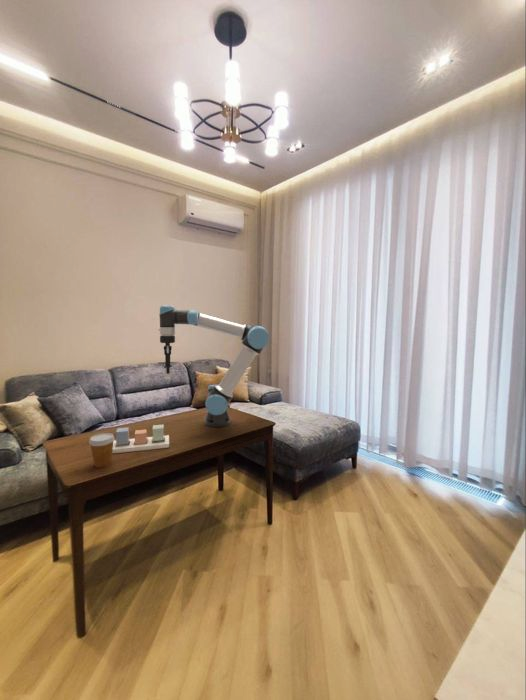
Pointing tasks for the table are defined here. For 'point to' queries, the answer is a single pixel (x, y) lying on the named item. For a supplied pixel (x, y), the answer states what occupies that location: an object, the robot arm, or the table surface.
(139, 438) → the terracotta block
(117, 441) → the slate block
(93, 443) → the disposable coffee cup
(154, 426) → the sage block
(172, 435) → the table surface
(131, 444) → the board
